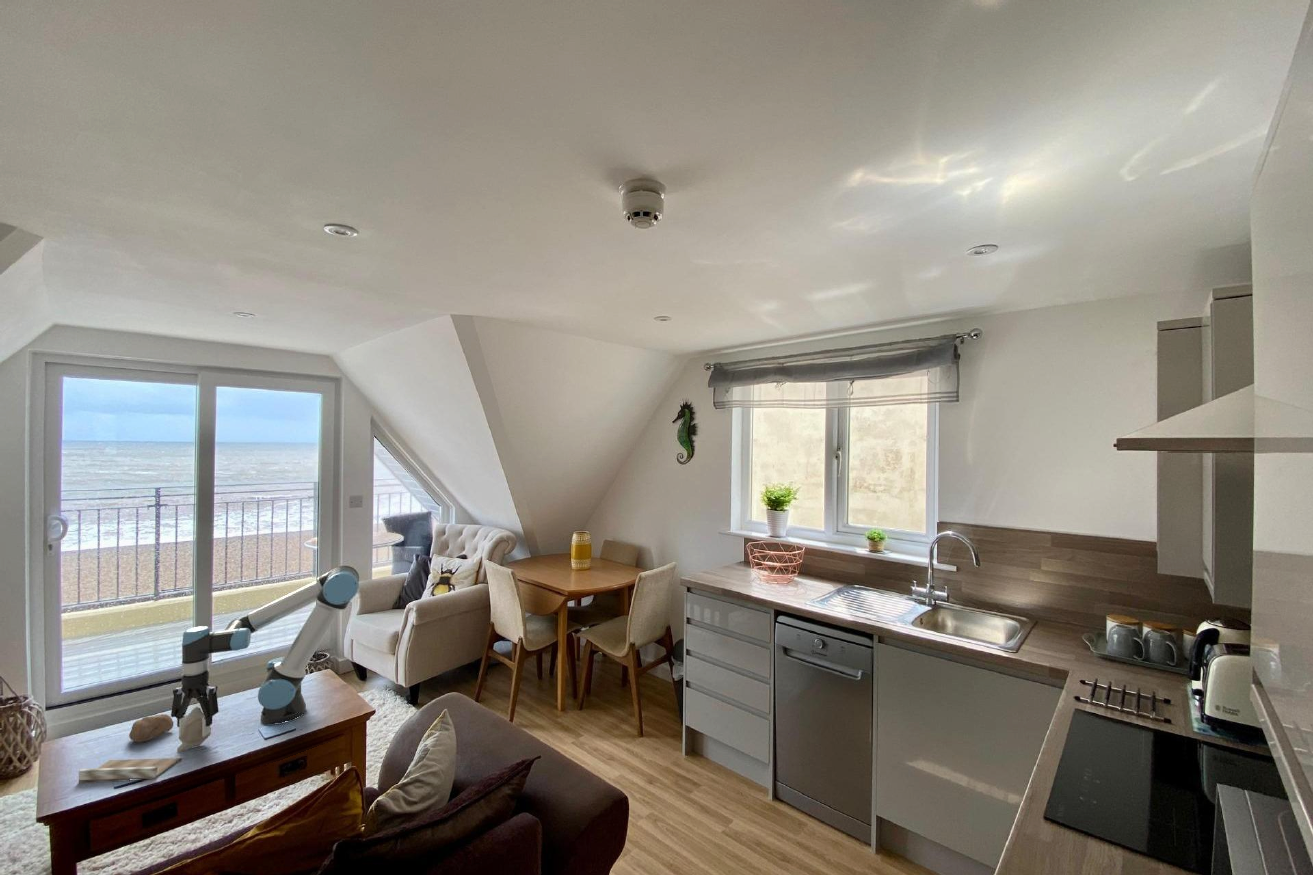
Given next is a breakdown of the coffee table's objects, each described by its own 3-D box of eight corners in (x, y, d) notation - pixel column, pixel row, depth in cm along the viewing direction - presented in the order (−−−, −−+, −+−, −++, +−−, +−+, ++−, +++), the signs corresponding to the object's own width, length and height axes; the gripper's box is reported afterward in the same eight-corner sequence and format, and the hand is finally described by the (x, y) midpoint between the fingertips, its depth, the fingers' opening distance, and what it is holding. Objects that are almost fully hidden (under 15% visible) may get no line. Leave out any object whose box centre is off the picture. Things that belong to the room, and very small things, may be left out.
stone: (130, 753, 197) (146, 731, 197) (116, 734, 199) (132, 713, 199) (166, 739, 209) (182, 718, 209) (152, 722, 211) (168, 701, 211)
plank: (181, 762, 189) (181, 749, 189) (154, 782, 178) (154, 768, 178) (110, 764, 187) (110, 751, 187) (78, 784, 176) (78, 770, 176)
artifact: (176, 755, 192) (177, 713, 192) (177, 751, 195) (177, 709, 195) (210, 746, 198) (211, 705, 198) (210, 742, 201) (211, 702, 201)
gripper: (232, 666, 201) (231, 728, 201) (174, 667, 200) (173, 730, 200) (217, 675, 194) (216, 739, 194) (157, 676, 192) (156, 741, 192)
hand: (194, 734), depth 197 cm, fingers closed on artifact, 7 cm apart
